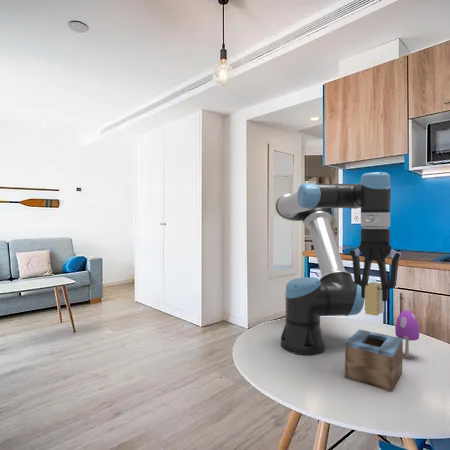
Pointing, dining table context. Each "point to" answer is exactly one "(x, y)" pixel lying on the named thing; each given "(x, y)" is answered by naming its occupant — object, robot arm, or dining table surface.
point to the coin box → (374, 359)
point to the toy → (407, 328)
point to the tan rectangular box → (372, 298)
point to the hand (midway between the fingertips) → (374, 310)
